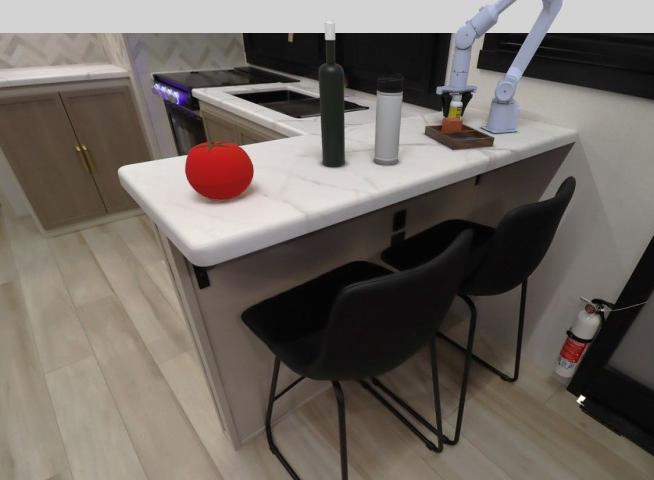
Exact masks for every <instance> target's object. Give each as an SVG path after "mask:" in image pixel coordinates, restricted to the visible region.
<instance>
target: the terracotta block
mask: <svg viewBox="0 0 654 480" xmlns="http://www.w3.org/2000/svg"><path fill="white" fill-rule="evenodd" d="M463 121H464V120H463V119H461V118H460V119H458V118H456V117H449V118H445V117H442V124H441V125H442V130H441V133H444V132H457V131H461V127H462V123H463Z"/></svg>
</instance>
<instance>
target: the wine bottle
mask: <svg viewBox="0 0 654 480" xmlns="http://www.w3.org/2000/svg"><path fill="white" fill-rule="evenodd" d="M324 40H325V56H326V57H325V58H326V59H325V61H326V63H323V64H322V65H320V66H319V68H318V92H319V112H320V114H319V115H320V130H321V132H320V134H321V136H320V137H321V155H322V157H321V158H322V165H323V166H324V167H327V168H340V167H343V166H345V165H346V135H345V134H346V133H345V128H346V127H345V123H346V121H345V71H344V69H343V66H342V65H340V64H338V63H336V23H335V20H333V19H326V20H325V22H324Z"/></svg>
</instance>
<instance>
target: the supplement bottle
mask: <svg viewBox="0 0 654 480" xmlns="http://www.w3.org/2000/svg"><path fill="white" fill-rule="evenodd" d="M450 96H453V98H452V101H451V104H450V108H449V115H448V118H449V117H456V118H458V119H461V118H462V117H461V111H462V105H463V104H462V102H461V99H462V94H459V93H450ZM444 118H446V117H444Z"/></svg>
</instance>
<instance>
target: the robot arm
mask: <svg viewBox="0 0 654 480" xmlns="http://www.w3.org/2000/svg"><path fill="white" fill-rule="evenodd" d="M515 2H517V0H497V2H495V3H494V4H486V5H485V6H483V5H482V6H480V8H478V12H477V13H476V14H475V15H474V16H472V18H470V20H469V19H467V20H466V21H465V23H464V24H465V25H463V26H460V27H459V28H458V29H457V31H455V32H456V33H455V34H454V48H453V55H452V62H451V68H450V75H449V83H448V85H443V86H442V85H441V86H437V87H436V94H437V95H438V97H439V99H440V102H441V108H442V118H445V117H446V118H448V115H449V108H450V104H451V101H452V98H453V96H450V94H453V93H455V94H462V99H461V102H462V104H463V105H462V111H461V117H460V118H462V117H463V116H464V113H465V111H466V110H467V109H466V108H467V107H468V105H469V103H470V102H471V100H472V99H473V96H474V94H476V93H477V91H478V86H477V85H468V84H467V83H468V77H469V72H470V65H471V60H472V49H473V45H474V43H475V41H476V39H480V38H481V37H482V36H484V35H485V34H486V33H487V32H488V31H490V30H491V29H492V28H493V27H494V26H495V25H497V24H498V19H499V16H500V15H501V14H502V13H503V12H504V11H505V10H508V8H510V6H512V5H514V3H515ZM541 2H542V9H541V11H540V13H539V14H538V16H537V18H536V20H535V22H534V23H533V25H532V27H531V29H530V31H529V32H528V34H527V35H526V37H525V40H524V42H523V43H522V45H521V46H520V48H519V51H518V52H517V54H516V56H515V57H514V59H513V61H512V63H511V65H510V67H509V68H508V70H507V72H506V73H505V74H504V76H503V77H502V78H500V79H499V81H498V82H497V84H496V86H495V88H494V97H493V98H491V101H490V102H491V103H490V108H489V112H488V117H487V123H486V125H482V126H480V128H481V129H483V130H485V131H488V132H490V133H492V134H503V133H515V132H517V131H518V130H517V125H518V120H519V117H520V113H521V105H520V103H519V102H518V101H516V100H515V99H514V96H515V94H516V91H517V85H518V83H519V82H520V80H521V79H522V76H523V74H524V72H525V71H526V70H527V67H528V66H529V64H530V62H531V60H532V58H533V57H534V55H535V53H536V52H537V50H538V49H539V47H540V45H541V43H542V42H543V40H544V38H545V37H546V34H547V33H548V31H549V29H550V28H551V26H552V24H553V22H555V19H556V18H557V16H558V14H559V12H560V11H561V10H562V6H563V0H541Z"/></svg>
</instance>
